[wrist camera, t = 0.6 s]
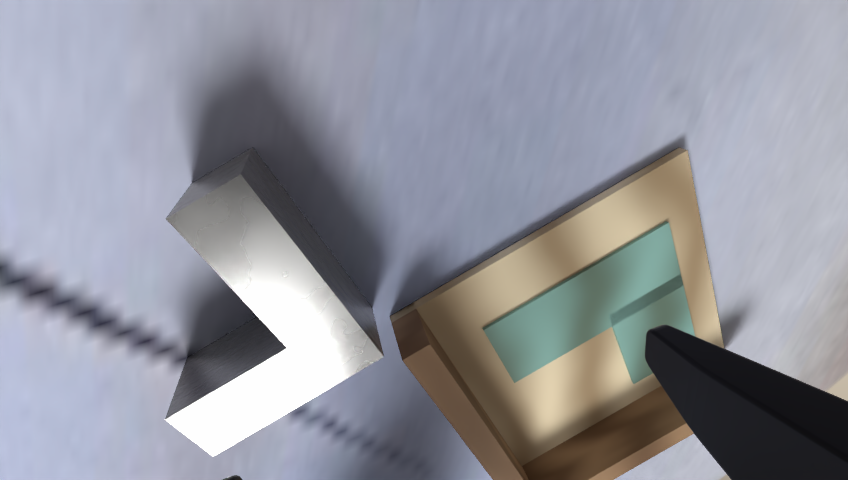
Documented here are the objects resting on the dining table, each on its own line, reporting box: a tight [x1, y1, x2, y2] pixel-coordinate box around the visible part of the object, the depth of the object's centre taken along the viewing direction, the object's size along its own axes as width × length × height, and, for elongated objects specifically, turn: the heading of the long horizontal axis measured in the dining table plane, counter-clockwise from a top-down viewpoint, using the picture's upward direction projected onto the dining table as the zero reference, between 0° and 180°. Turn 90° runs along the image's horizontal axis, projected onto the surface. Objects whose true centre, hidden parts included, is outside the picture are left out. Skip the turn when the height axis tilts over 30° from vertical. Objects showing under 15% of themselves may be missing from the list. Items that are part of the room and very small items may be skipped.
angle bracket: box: [165, 147, 384, 456], centre depth 19 cm, size 10×9×4 cm
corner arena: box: [390, 148, 724, 480], centre depth 27 cm, size 18×18×4 cm
